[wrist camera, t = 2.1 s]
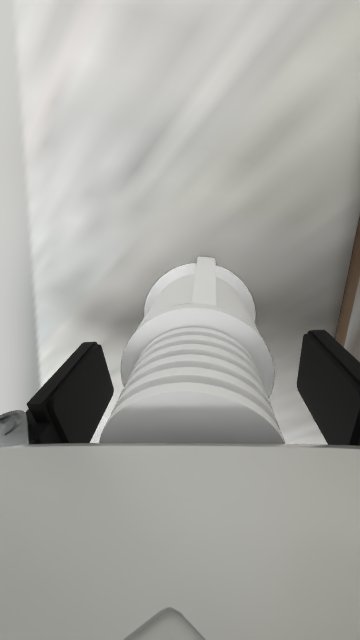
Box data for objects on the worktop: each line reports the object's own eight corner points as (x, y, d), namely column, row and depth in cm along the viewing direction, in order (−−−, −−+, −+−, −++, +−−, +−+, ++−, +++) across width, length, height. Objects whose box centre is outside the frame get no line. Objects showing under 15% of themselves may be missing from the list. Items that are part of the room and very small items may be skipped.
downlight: (241, 374, 16) (293, 572, 7) (144, 362, 16) (69, 534, 7) (266, 259, 13) (423, 337, 4) (146, 248, 13) (20, 294, 4)
